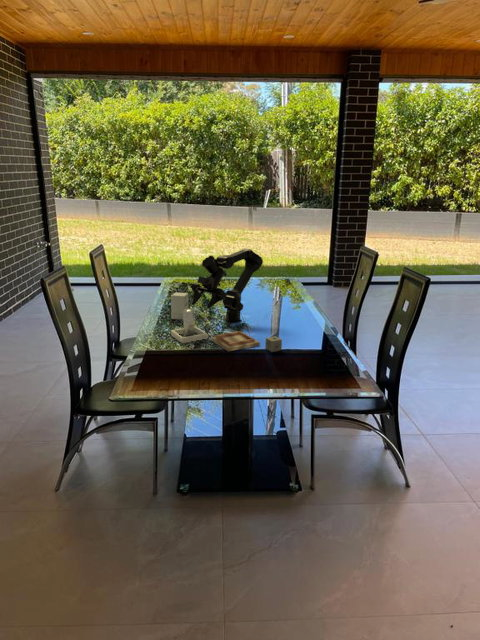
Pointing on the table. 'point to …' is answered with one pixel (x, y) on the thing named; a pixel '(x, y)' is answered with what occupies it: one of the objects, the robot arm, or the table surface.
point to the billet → (188, 322)
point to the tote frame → (190, 338)
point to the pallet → (235, 341)
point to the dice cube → (273, 344)
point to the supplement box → (178, 305)
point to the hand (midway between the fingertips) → (200, 306)
